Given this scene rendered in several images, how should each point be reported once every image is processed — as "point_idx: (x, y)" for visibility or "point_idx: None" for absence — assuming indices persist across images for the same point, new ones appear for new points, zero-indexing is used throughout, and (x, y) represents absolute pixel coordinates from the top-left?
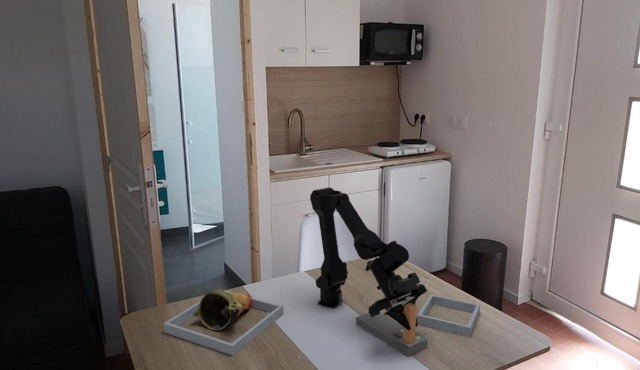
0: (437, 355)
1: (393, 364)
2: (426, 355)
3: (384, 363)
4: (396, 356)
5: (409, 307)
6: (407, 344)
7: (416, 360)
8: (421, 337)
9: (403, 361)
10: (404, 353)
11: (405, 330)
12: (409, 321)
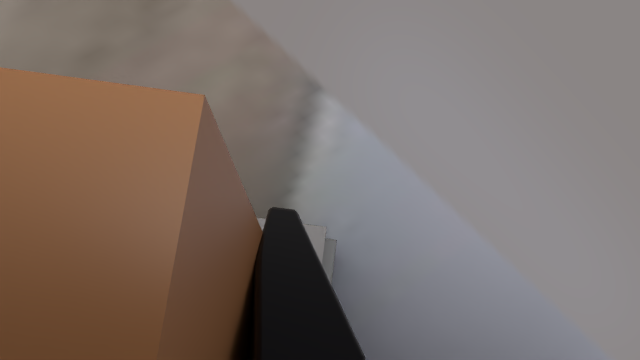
0: (110, 70)
1: (524, 277)
2: None
3: (578, 349)
4: (401, 337)
5: (123, 226)
6: None
7: (315, 161)
8: None
9: (416, 238)
10: None
11: None
12: (254, 239)
